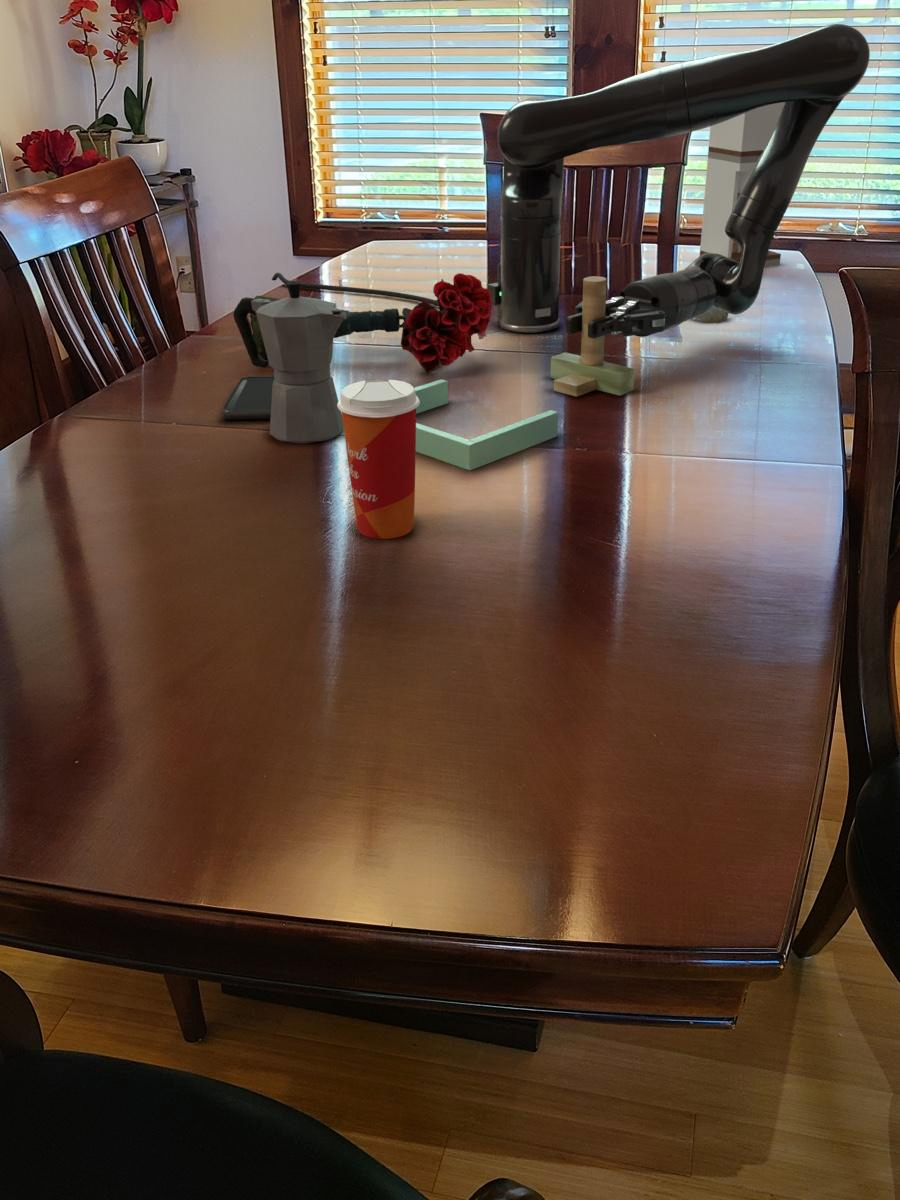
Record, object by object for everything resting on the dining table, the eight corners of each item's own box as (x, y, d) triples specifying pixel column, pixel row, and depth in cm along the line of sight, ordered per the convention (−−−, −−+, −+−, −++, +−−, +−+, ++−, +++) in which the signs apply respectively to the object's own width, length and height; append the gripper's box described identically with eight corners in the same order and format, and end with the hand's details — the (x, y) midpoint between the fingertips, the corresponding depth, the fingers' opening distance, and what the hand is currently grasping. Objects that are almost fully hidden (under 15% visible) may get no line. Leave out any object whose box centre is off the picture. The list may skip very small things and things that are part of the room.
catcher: (442, 401, 141) (441, 378, 139) (557, 436, 128) (558, 412, 127) (354, 430, 132) (353, 406, 130) (469, 470, 119) (469, 445, 118)
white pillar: (729, 270, 206) (749, 67, 190) (699, 260, 215) (715, 65, 198) (779, 264, 210) (803, 64, 193) (747, 255, 218) (767, 62, 202)
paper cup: (346, 513, 110) (336, 379, 103) (421, 509, 110) (416, 375, 103) (346, 546, 103) (335, 405, 96) (426, 542, 103) (421, 401, 97)
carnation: (269, 409, 163) (499, 396, 160) (232, 357, 145) (490, 341, 142) (271, 314, 167) (497, 299, 163) (235, 251, 149) (488, 233, 145)
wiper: (564, 373, 150) (566, 270, 144) (633, 390, 143) (639, 283, 136) (550, 378, 148) (552, 274, 142) (619, 396, 141) (625, 287, 134)
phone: (220, 411, 135) (242, 376, 148) (221, 420, 136) (243, 384, 149) (282, 410, 135) (299, 374, 148) (283, 419, 136) (299, 382, 149)
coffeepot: (373, 425, 133) (364, 276, 124) (334, 450, 125) (321, 294, 117) (268, 411, 139) (253, 268, 130) (225, 434, 131) (205, 284, 123)
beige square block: (572, 384, 146) (573, 373, 145) (595, 390, 143) (596, 379, 143) (553, 390, 143) (553, 379, 143) (576, 397, 141) (577, 385, 140)
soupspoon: (690, 327, 173) (731, 327, 173) (693, 306, 171) (734, 306, 171) (662, 291, 192) (699, 291, 192) (665, 272, 190) (701, 272, 190)
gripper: (619, 269, 153) (538, 291, 142) (703, 283, 144) (624, 307, 134) (616, 322, 157) (538, 347, 146) (698, 338, 148) (621, 366, 137)
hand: (579, 328), depth 140 cm, fingers closed on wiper, 3 cm apart
